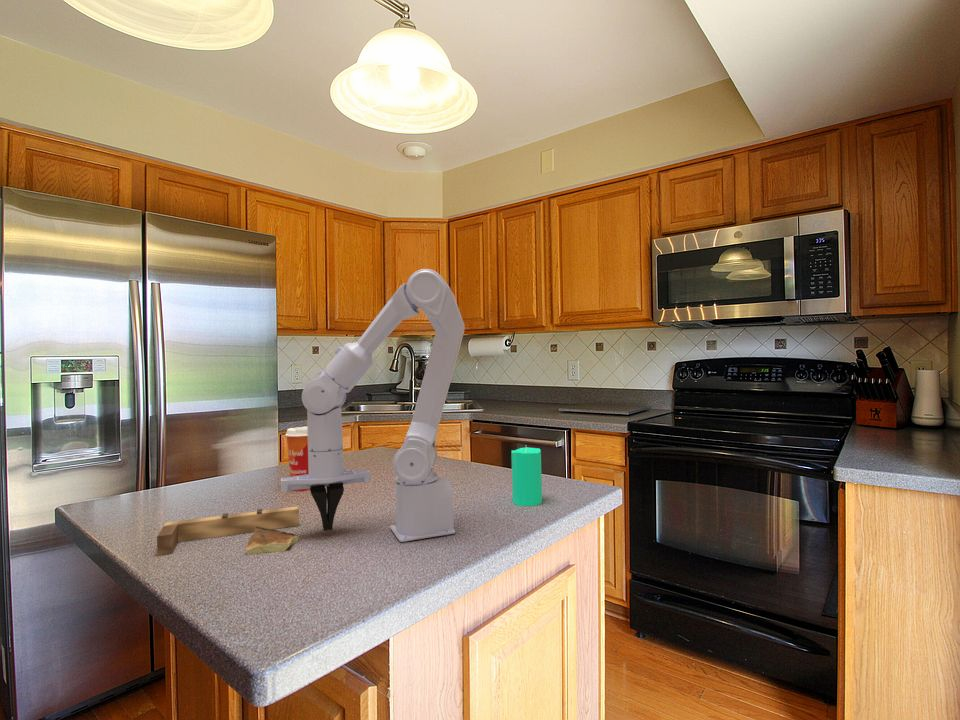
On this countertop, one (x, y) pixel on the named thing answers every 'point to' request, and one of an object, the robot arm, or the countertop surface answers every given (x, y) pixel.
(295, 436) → the paper cup
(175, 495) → the countertop surface
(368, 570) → the countertop surface
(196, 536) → the oak ledge
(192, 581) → the countertop surface
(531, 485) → the candle
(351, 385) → the robot arm
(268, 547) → the shard
